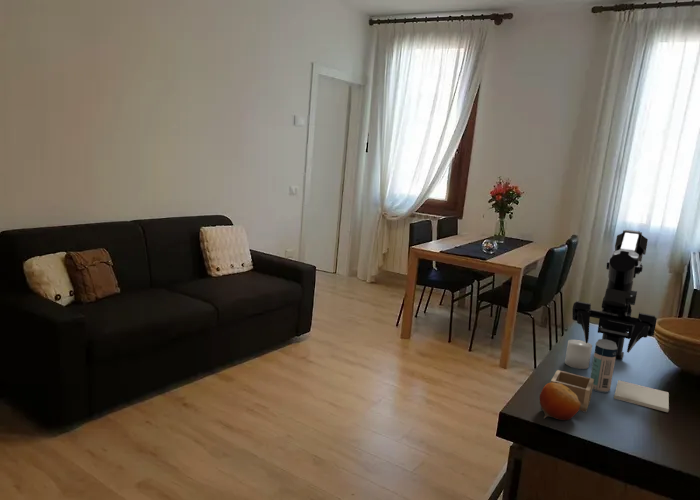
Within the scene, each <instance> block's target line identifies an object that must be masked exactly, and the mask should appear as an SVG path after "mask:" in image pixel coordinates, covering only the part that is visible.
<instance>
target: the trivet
mask: <svg viewBox="0 0 700 500" xmlns="http://www.w3.org/2000/svg"><path fill="white" fill-rule="evenodd" d="M669 397H670V394H669V392H668V391H664V390H660V389H658V388H657V389H655V388H652V387H648V386H643V385H639V384H636V383H632V382H627V381H624V380H619V379H618V380H617V383H616V387H615V392H614V395H613V399H614V400H619V401H623V402H627V403H630V404H633V405H634V404H635V405H638V406H641V407H644V408H645V407H646V408H649V409H654V410H656V411H661V412H665V413H669V411H670V406H669V405H670V403H669V400H670V398H669Z"/></svg>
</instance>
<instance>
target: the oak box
mask: <svg viewBox="0 0 700 500" xmlns="http://www.w3.org/2000/svg"><path fill="white" fill-rule="evenodd" d="M551 382H553V383H561V384H563V385H564V386H566V387H568V388H569V389H570V390H571V391H572V392H574V393H575V394H576V395H577V397H578V400H579V401H580V403H581V406H580V408H579V411H580V412H584V413H587V412H588V408H589V406H590V402H591V400H592V394H593V383H594V379H592V378H590V377H589V376H583V375H579V374H575V373H572V372H571V373H570V372H568V371H563V370H561V369H560V370H559V369H557V370H556V371H555V373H554V375H553V376H552V378H551V379H550V383H551ZM579 411H578V412H579Z"/></svg>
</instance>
